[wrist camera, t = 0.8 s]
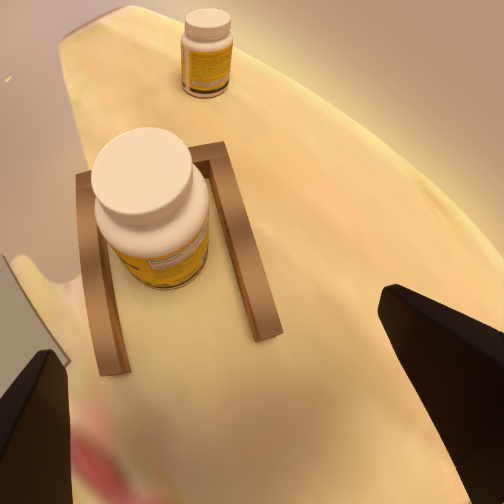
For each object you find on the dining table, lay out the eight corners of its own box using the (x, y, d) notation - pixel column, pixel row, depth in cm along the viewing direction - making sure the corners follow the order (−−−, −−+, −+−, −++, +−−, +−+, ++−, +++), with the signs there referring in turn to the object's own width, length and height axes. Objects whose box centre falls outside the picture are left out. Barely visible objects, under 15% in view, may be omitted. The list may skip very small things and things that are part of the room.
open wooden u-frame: (275, 336, 22) (283, 332, 20) (111, 375, 20) (100, 376, 18) (222, 159, 27) (223, 141, 24) (85, 190, 24) (75, 174, 22)
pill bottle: (116, 233, 23) (64, 144, 13) (188, 201, 25) (180, 99, 15) (144, 306, 22) (93, 255, 12) (222, 270, 24) (234, 194, 13)
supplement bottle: (237, 86, 30) (247, 19, 22) (201, 105, 29) (203, 35, 21) (208, 65, 31) (212, 2, 23) (173, 83, 29) (169, 16, 22)
